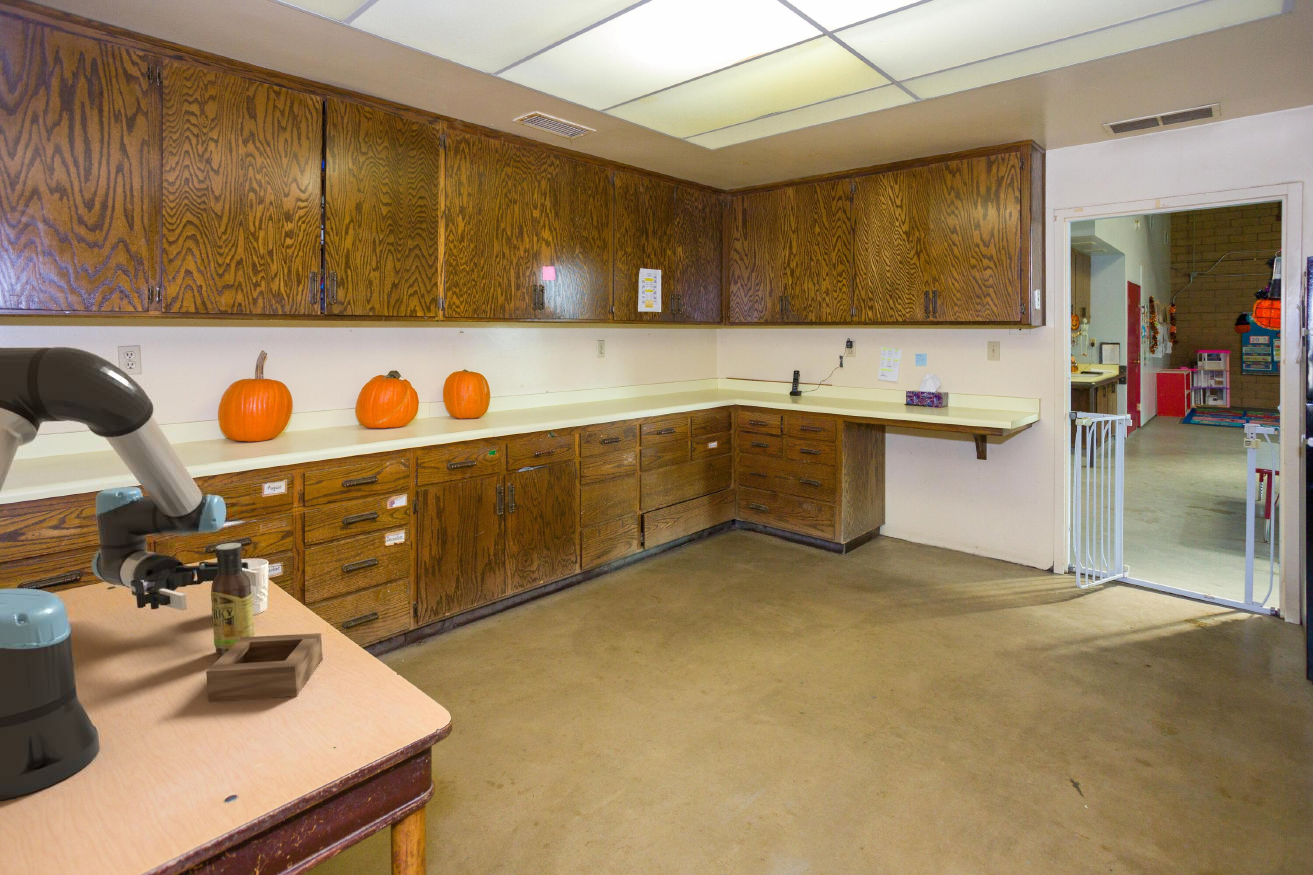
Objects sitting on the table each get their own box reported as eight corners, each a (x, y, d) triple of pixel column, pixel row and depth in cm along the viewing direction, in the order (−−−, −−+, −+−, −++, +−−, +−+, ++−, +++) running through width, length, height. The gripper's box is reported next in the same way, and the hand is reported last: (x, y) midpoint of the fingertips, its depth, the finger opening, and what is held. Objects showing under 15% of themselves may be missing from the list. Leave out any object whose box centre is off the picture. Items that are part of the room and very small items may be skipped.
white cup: (251, 619, 147) (249, 571, 146) (217, 615, 148) (214, 567, 147) (278, 605, 154) (277, 560, 153) (246, 602, 156) (244, 556, 155)
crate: (297, 696, 116) (294, 666, 115) (208, 701, 114) (206, 671, 113) (322, 660, 128) (320, 632, 128) (243, 664, 127) (241, 637, 126)
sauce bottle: (207, 656, 130) (197, 547, 127) (240, 642, 136) (231, 538, 133) (231, 662, 127) (222, 552, 125) (264, 648, 133) (255, 542, 130)
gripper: (218, 573, 153) (286, 588, 144) (82, 613, 131) (151, 635, 122) (215, 538, 152) (283, 551, 143) (77, 573, 130) (146, 591, 121)
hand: (222, 590), depth 132 cm, fingers open, 13 cm apart
